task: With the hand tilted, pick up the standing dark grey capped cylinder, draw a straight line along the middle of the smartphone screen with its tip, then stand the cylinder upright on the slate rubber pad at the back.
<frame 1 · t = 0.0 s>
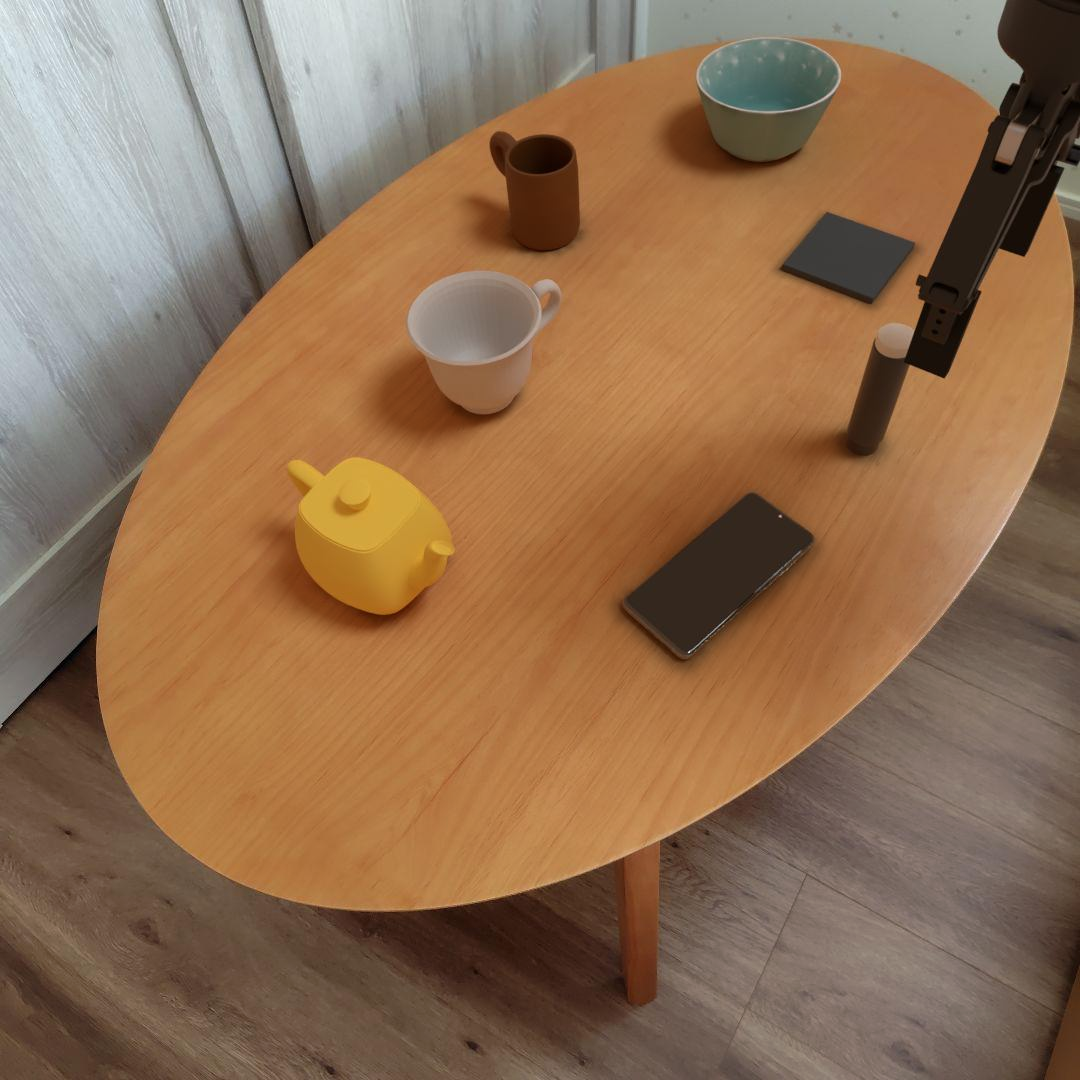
hand: (968, 305, 63), 22 cm above the table, tool pointing down, fingers open, 13 cm apart
teacup: (499, 388, 92), on the table
pad: (847, 259, 98), on the table
teapot: (389, 571, 80), on the table
smartphone: (719, 577, 78), on the table
dark grey capped cylinder: (862, 443, 84), on the table
bowl: (758, 141, 111), on the table
mug: (533, 223, 105), on the table
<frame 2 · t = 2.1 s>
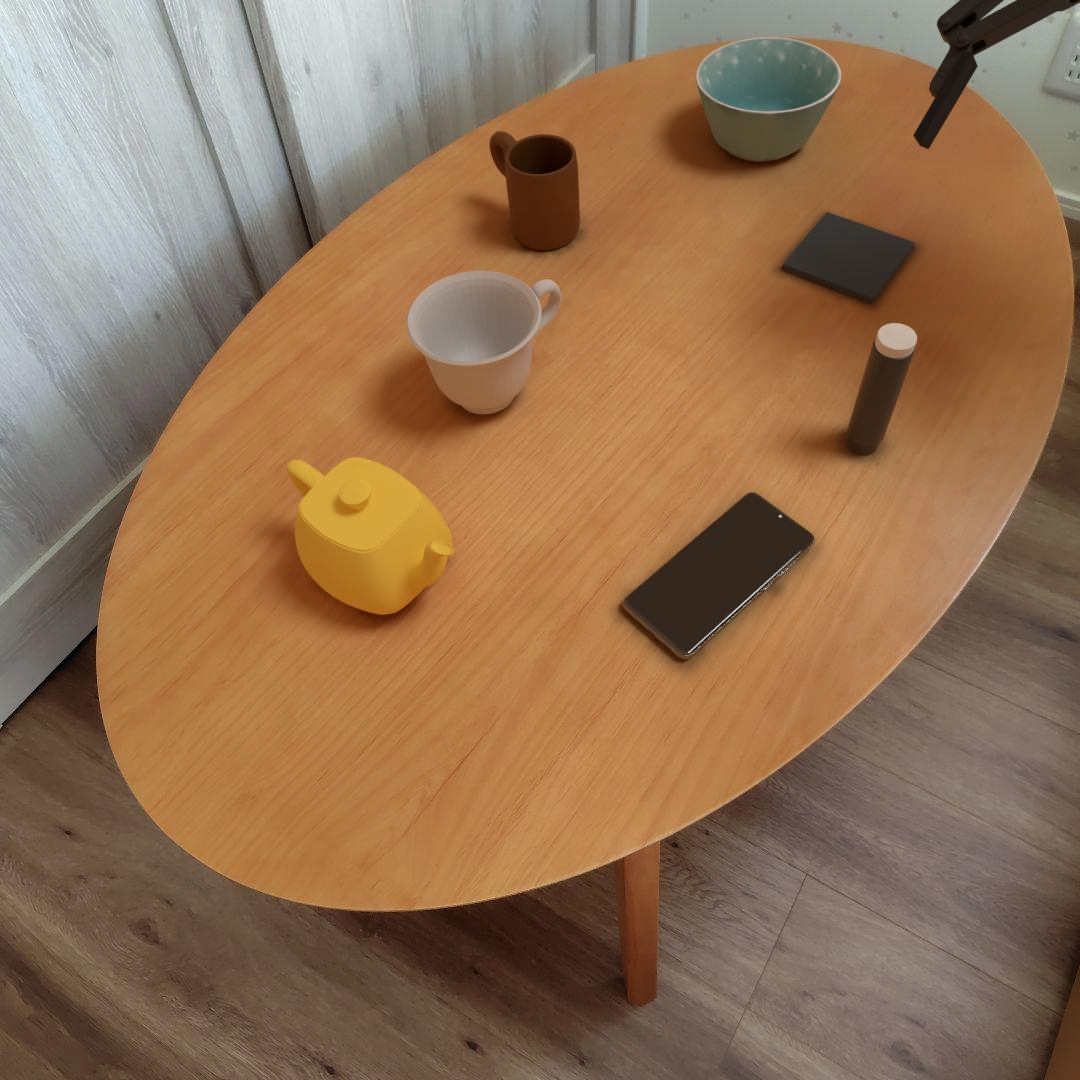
hand: (1002, 177, 70), 22 cm above the table, tool tilted 45°, fingers open, 13 cm apart
nothing on the table moved.
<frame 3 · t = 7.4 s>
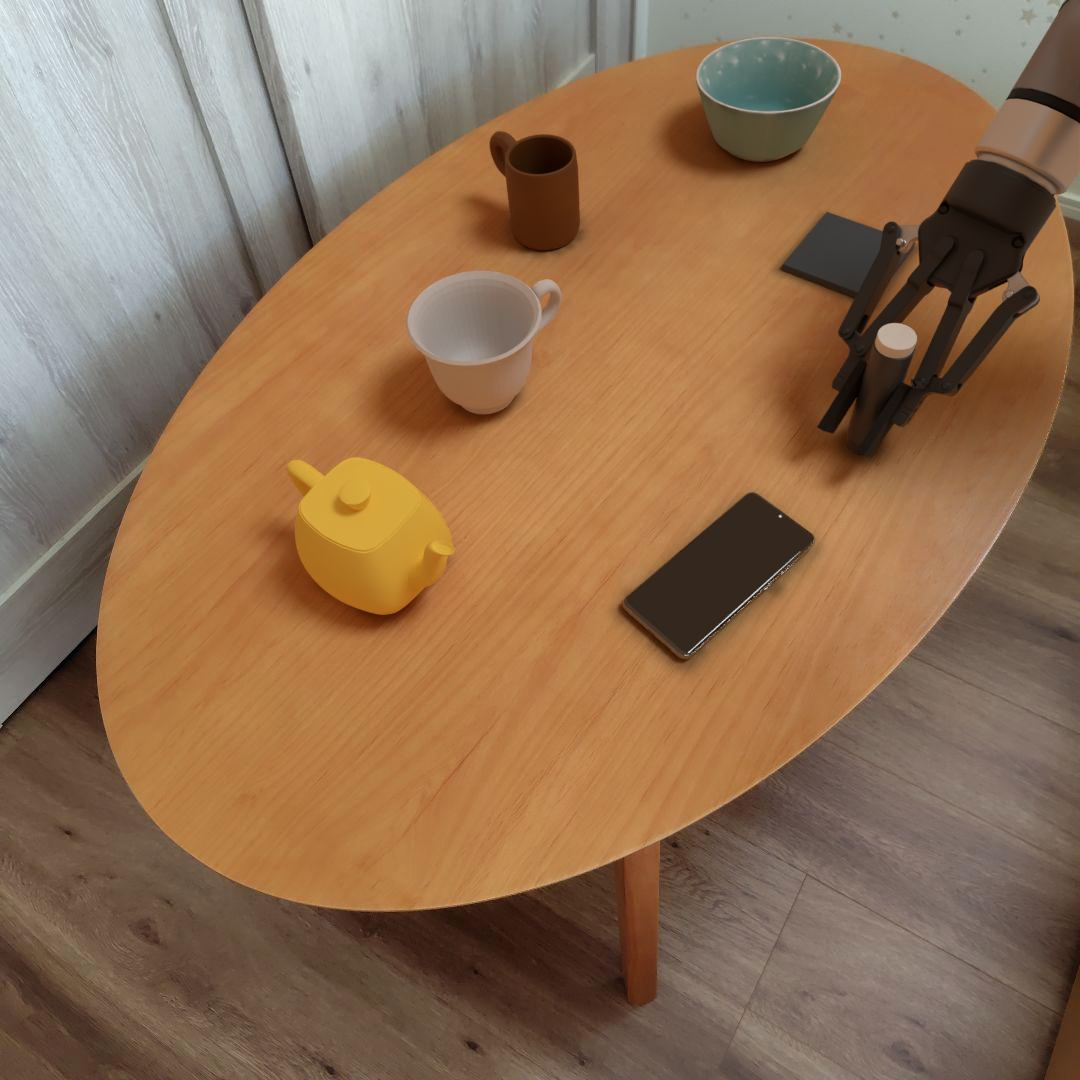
hand: (844, 441, 80), 4 cm above the table, tool tilted 45°, fingers closed on dark grey capped cylinder, 3 cm apart
dark grey capped cylinder: (862, 443, 84), on the table, touching gripper
everything else where it was.
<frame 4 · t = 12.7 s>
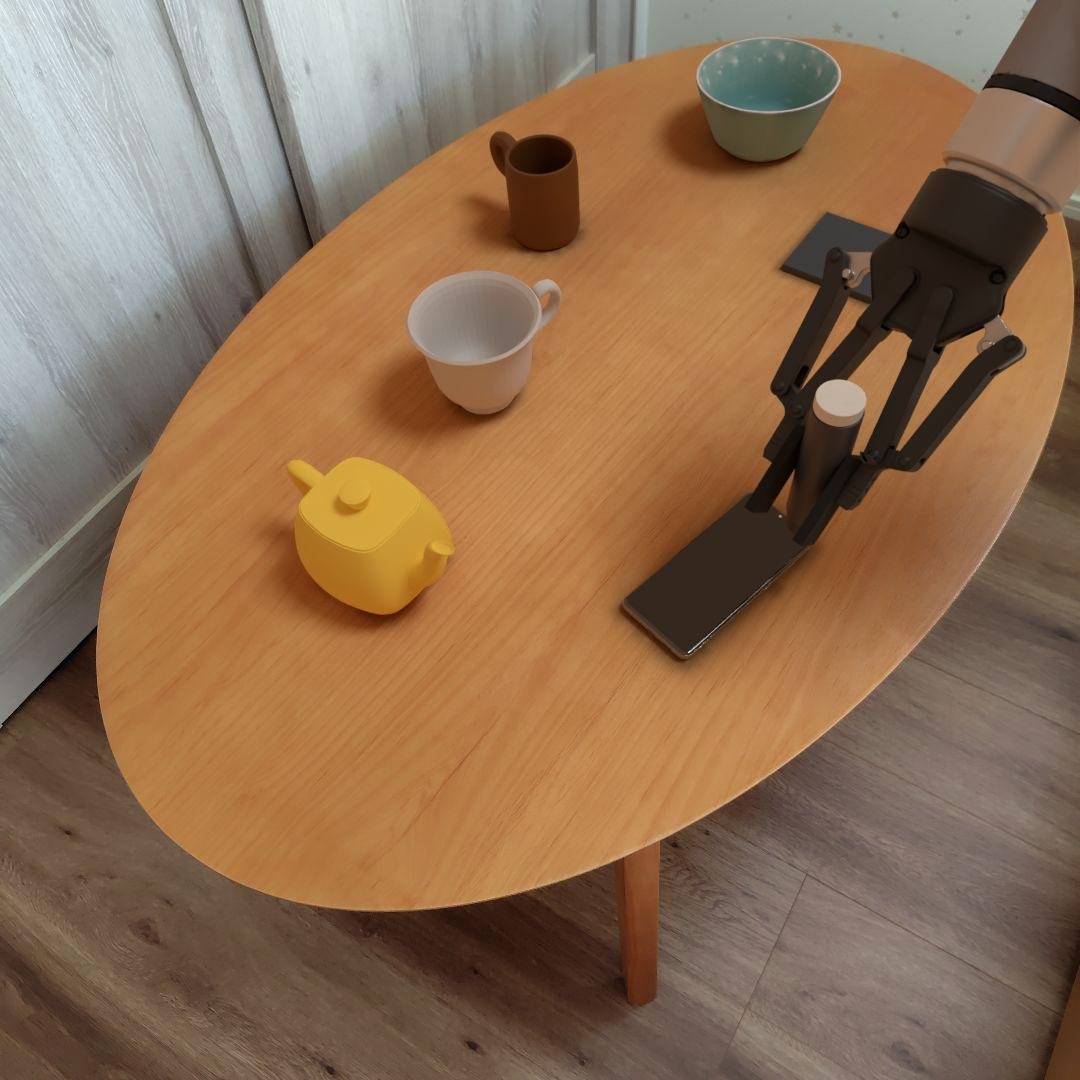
hand: (779, 525, 63), 14 cm above the table, tool tilted 45°, fingers closed on dark grey capped cylinder, 3 cm apart
dark grey capped cylinder: (805, 522, 67), point 11 cm above the table, touching gripper
everything else where it was.
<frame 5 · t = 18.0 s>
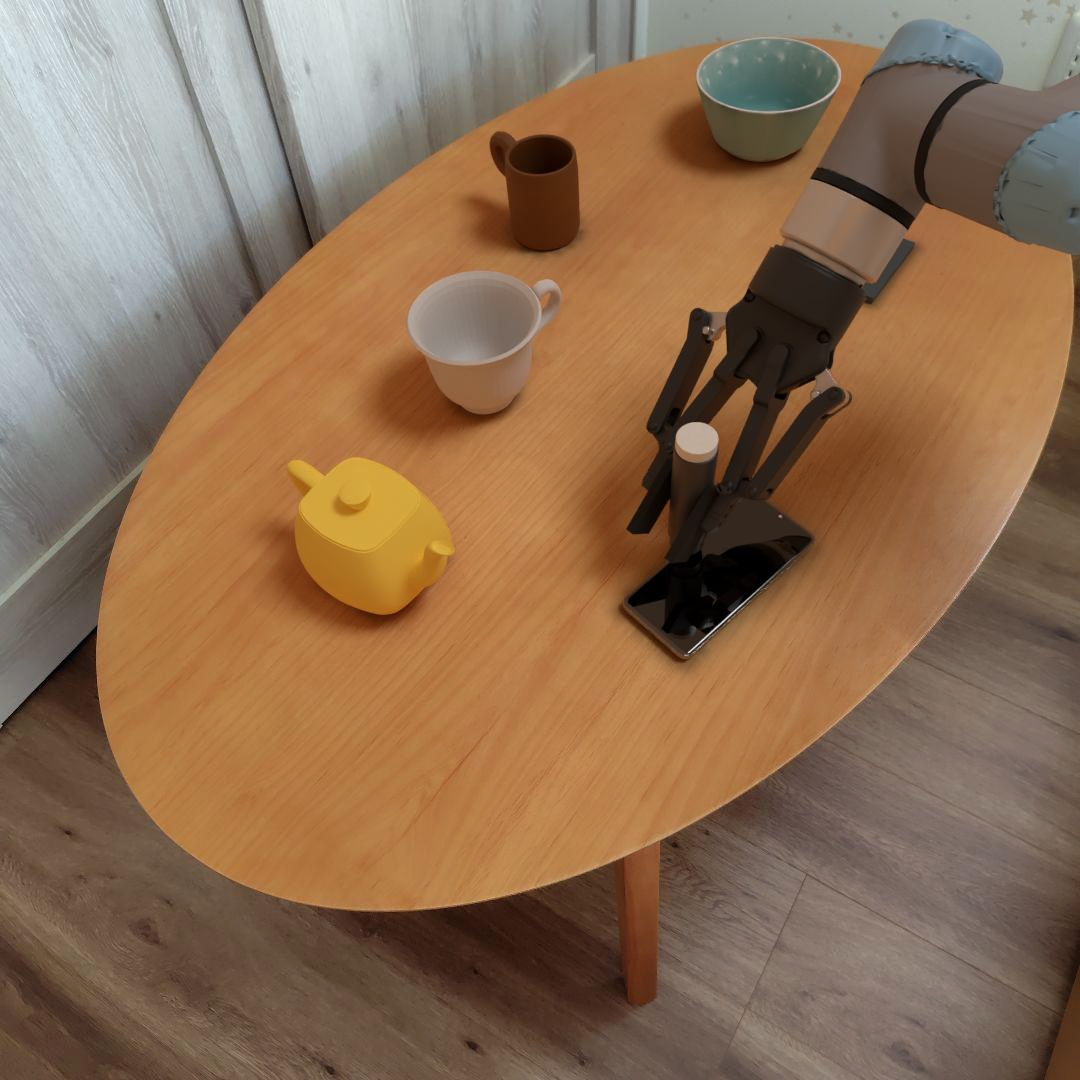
hand: (656, 544, 73), 6 cm above the table, tool tilted 45°, fingers closed on dark grey capped cylinder, 3 cm apart
dark grey capped cylinder: (686, 541, 77), point 2 cm above the table, touching gripper
everything else where it was.
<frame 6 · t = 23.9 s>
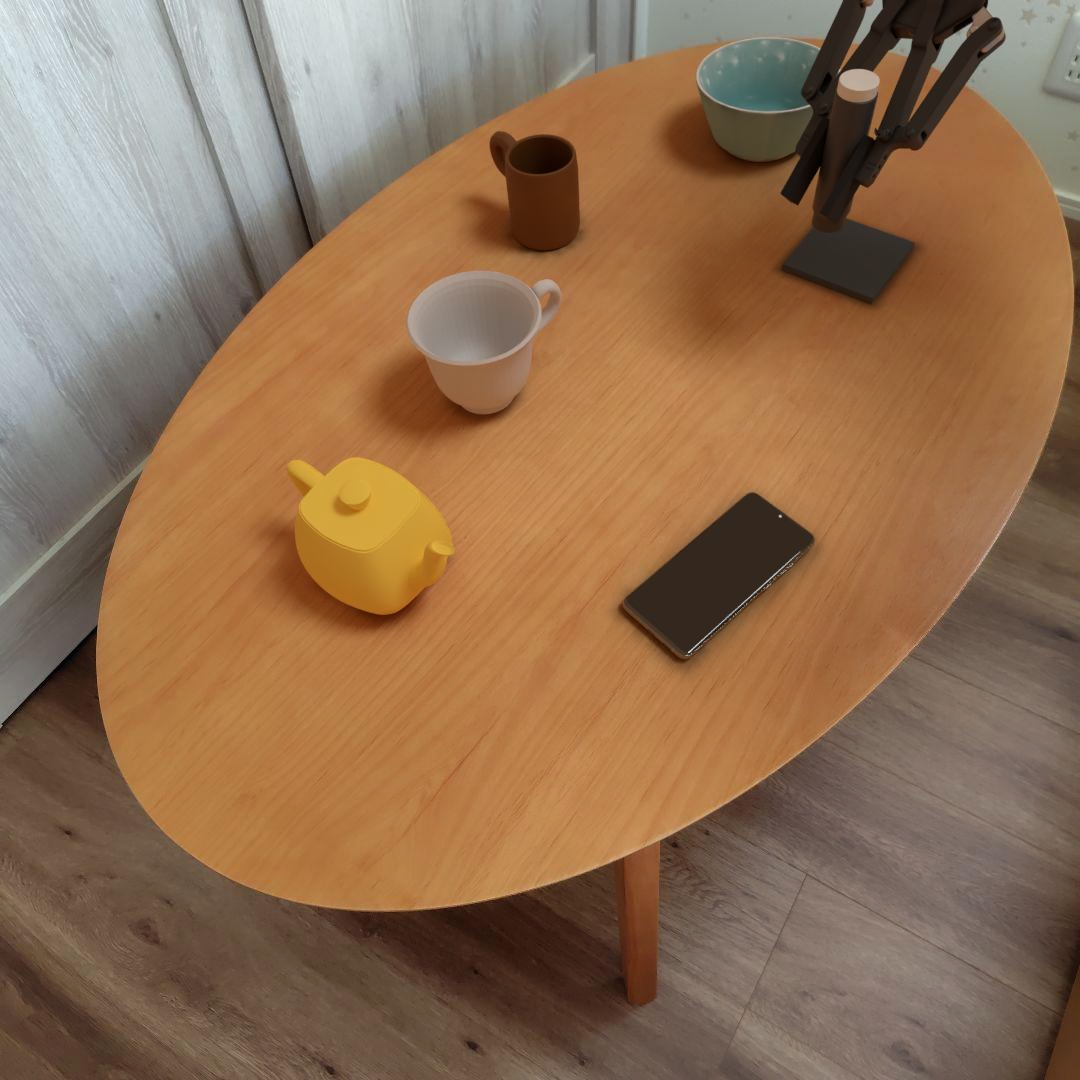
hand: (808, 208, 78), 16 cm above the table, tool tilted 45°, fingers closed on dark grey capped cylinder, 3 cm apart
dark grey capped cylinder: (828, 222, 82), point 13 cm above the table, touching gripper
everything else where it was.
when the fingers open (4 cm above the table, at t = 28.8 s): dark grey capped cylinder stays where it is, resting on pad.
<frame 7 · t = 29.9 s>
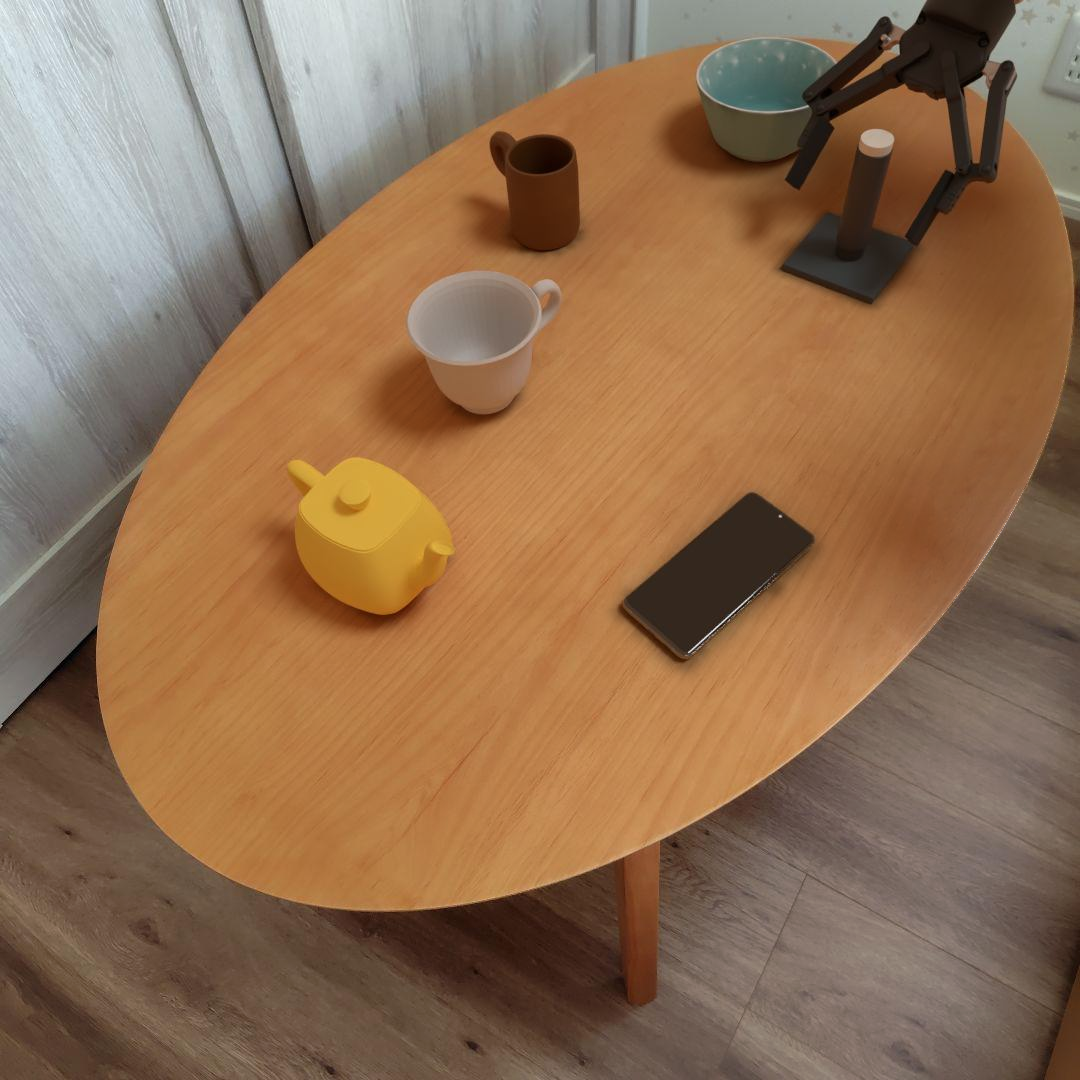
hand: (849, 212, 92), 7 cm above the table, tool tilted 45°, fingers open, 13 cm apart
dark grey capped cylinder: (849, 252, 98), point 1 cm above the table, touching pad
everything else where it was.
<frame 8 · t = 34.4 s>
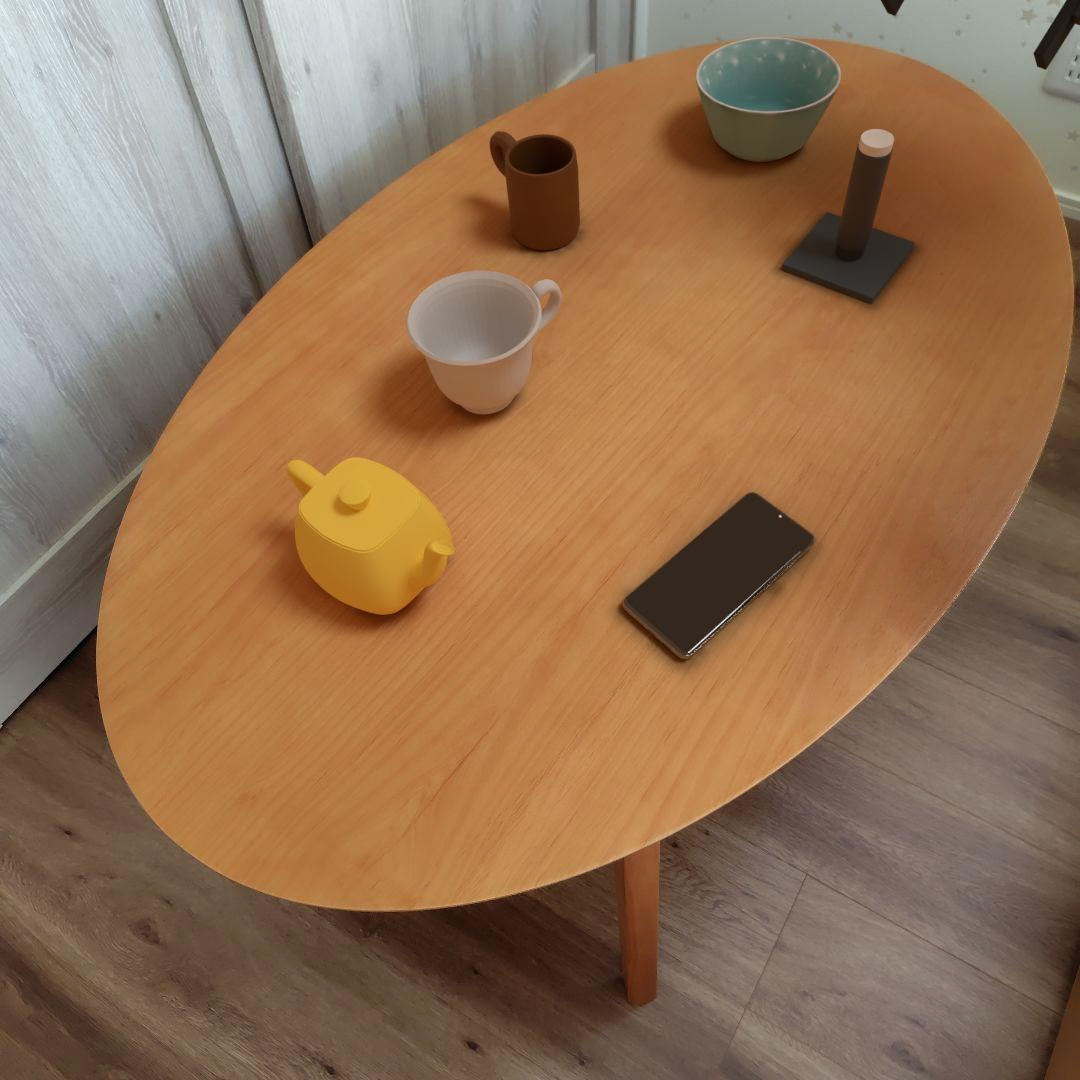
hand: (960, 34, 76), 25 cm above the table, tool tilted 45°, fingers open, 13 cm apart
nothing on the table moved.
at the end: dark grey capped cylinder inside the target area on the pad (0.1 cm from its centre), point 0.8 cm above the pad's base; dark grey capped cylinder tilted 0°; smartphone moved 0.0 cm from its start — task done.
